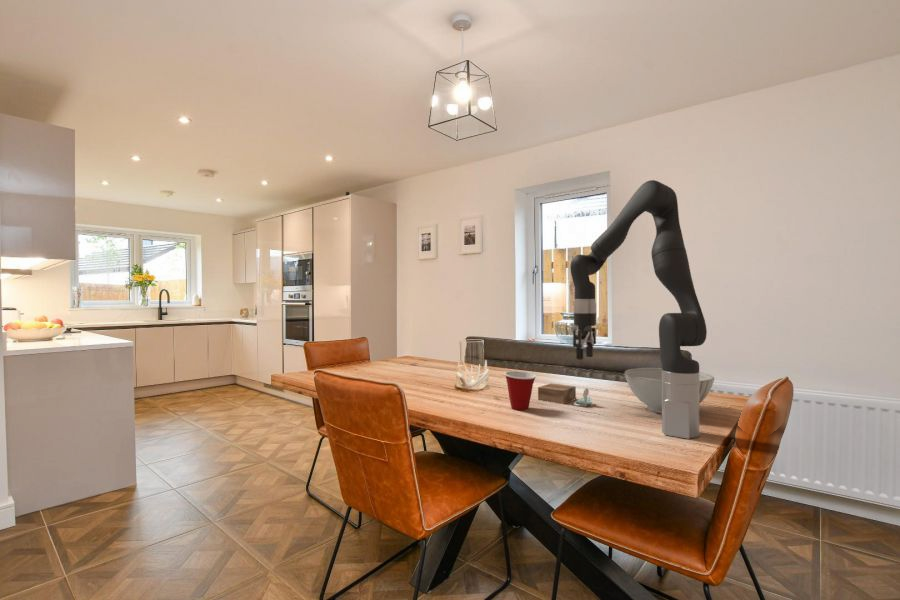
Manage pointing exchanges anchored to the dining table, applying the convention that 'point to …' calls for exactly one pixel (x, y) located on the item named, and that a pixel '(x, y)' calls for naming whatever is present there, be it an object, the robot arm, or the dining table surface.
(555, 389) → the walnut block
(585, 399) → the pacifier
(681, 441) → the dining table surface
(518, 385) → the plastic cup
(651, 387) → the decorative bowl
